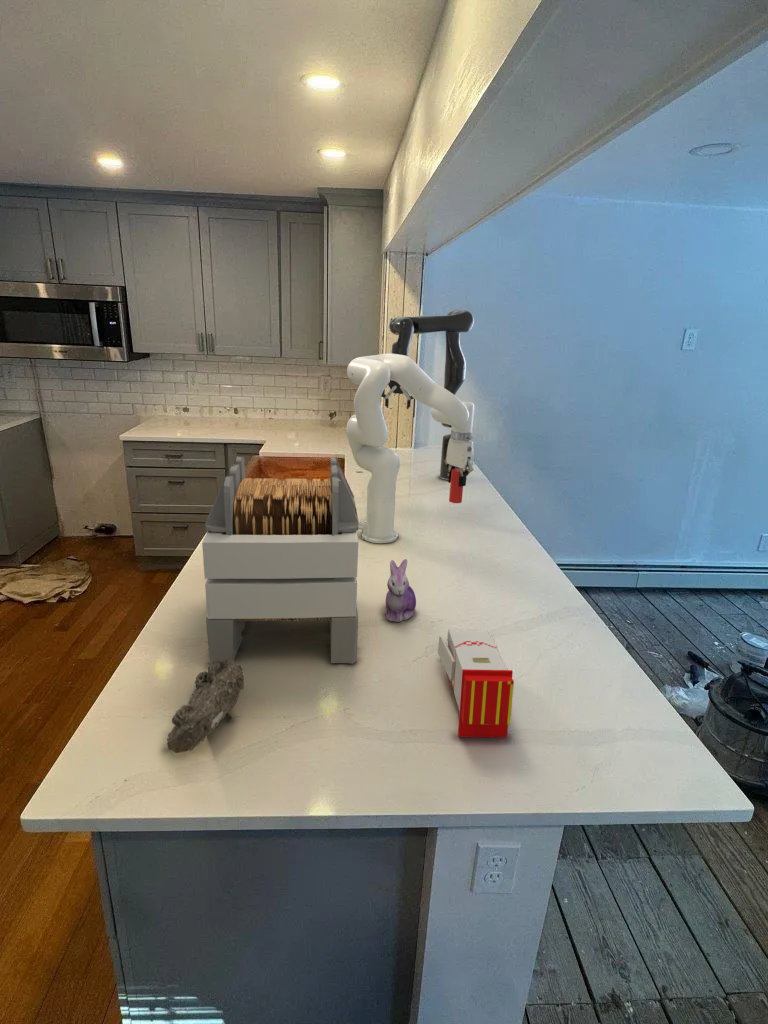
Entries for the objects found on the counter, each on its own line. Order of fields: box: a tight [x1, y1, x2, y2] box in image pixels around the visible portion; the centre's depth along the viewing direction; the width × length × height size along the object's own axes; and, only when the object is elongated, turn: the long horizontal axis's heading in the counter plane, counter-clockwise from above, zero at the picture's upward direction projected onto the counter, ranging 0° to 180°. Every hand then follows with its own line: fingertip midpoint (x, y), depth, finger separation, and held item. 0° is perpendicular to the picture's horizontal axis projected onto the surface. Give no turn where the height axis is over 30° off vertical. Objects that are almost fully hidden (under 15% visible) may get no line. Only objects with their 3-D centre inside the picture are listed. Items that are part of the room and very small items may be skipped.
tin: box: [448, 468, 465, 504], centre depth 211 cm, size 5×5×12 cm
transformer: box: [201, 455, 360, 666], centre depth 133 cm, size 34×33×41 cm
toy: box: [437, 628, 515, 738], centre depth 117 cm, size 12×13×30 cm
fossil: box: [166, 659, 245, 754], centre depth 106 cm, size 22×10×15 cm
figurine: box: [384, 558, 417, 623], centre depth 145 cm, size 9×10×15 cm
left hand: (456, 483), depth 211 cm, fingers closed on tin, 4 cm apart
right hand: (397, 408), depth 238 cm, fingers open, 8 cm apart
